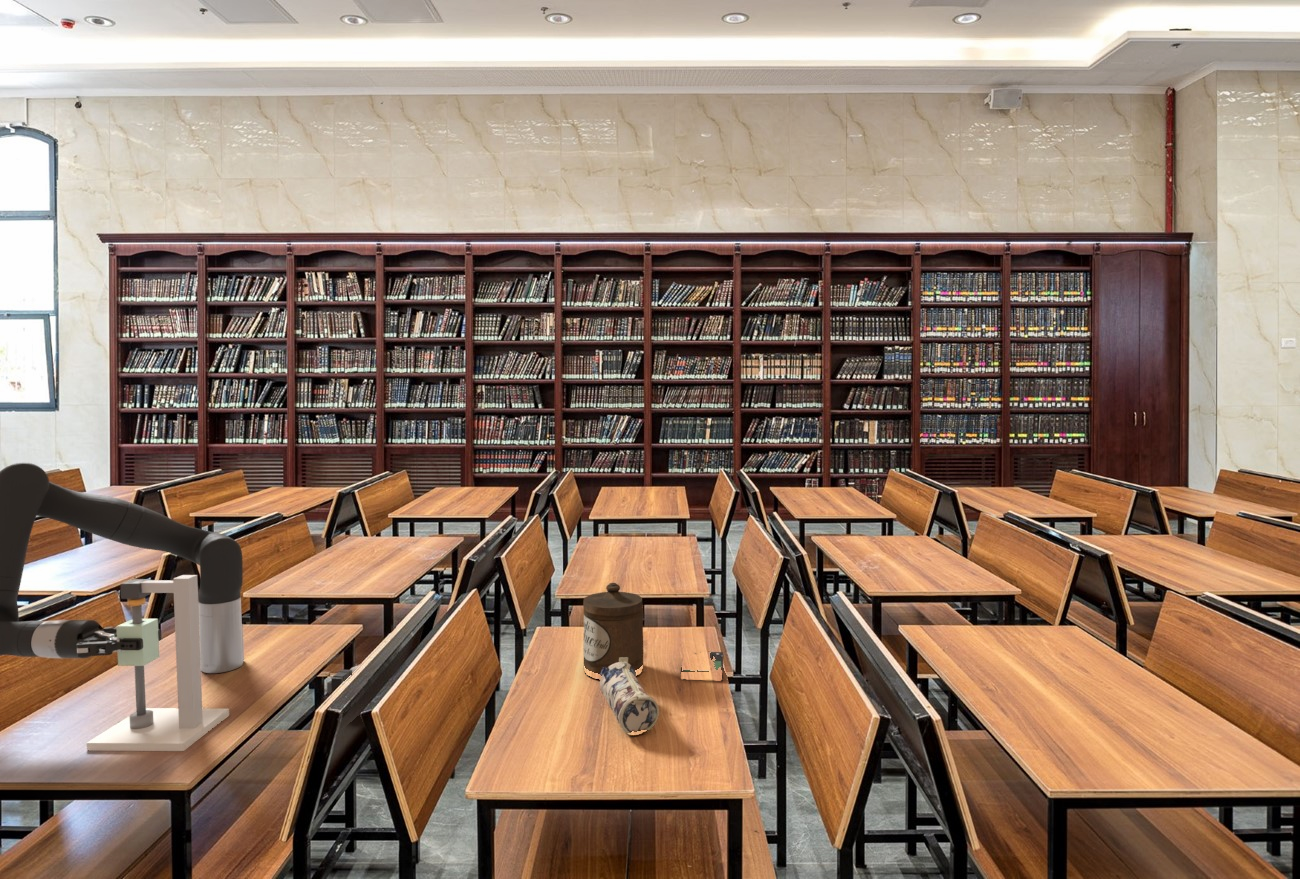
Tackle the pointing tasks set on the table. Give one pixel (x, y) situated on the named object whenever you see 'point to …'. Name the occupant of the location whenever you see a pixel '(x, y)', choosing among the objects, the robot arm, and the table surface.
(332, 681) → the ink cartridge
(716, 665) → the disk drive
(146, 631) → the pale green block
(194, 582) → the sliding block stand
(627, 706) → the pencil case
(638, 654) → the wooden container
